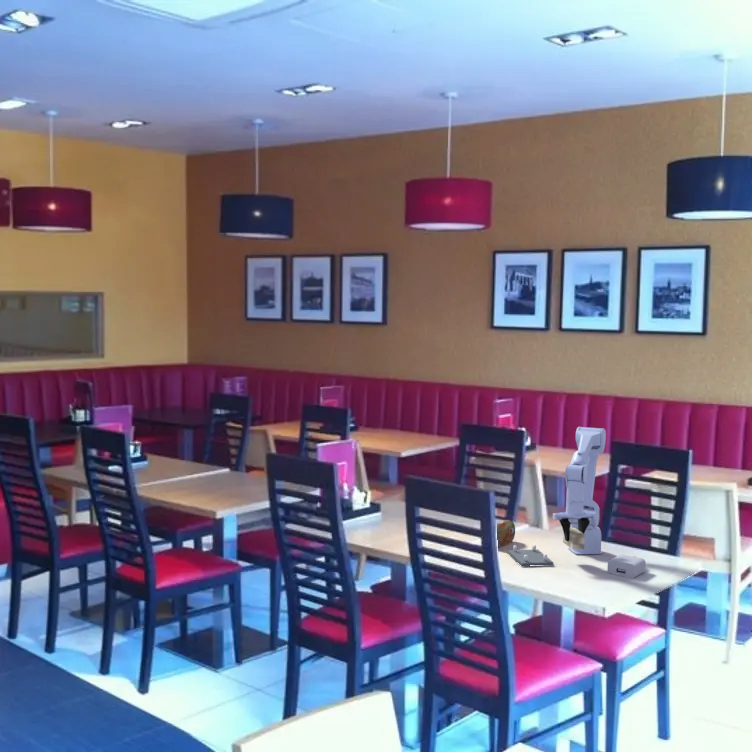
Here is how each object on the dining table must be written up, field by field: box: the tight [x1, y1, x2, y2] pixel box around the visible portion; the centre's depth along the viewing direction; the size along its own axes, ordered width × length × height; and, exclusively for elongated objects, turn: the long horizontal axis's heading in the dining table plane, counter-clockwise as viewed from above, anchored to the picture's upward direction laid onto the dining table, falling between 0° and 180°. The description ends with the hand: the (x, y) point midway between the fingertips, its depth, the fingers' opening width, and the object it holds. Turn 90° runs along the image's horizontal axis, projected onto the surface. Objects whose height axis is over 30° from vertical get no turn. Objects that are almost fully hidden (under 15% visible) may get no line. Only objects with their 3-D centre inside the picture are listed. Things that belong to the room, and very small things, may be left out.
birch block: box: [562, 527, 585, 550], centre depth 311 cm, size 4×9×5 cm, turn 9°
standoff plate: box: [506, 544, 554, 567], centre depth 315 cm, size 11×16×3 cm
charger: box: [606, 554, 646, 579], centre depth 305 cm, size 5×9×15 cm
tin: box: [496, 519, 516, 548], centre depth 334 cm, size 15×3×8 cm, turn 143°
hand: (573, 540), depth 311 cm, fingers closed on birch block, 4 cm apart
